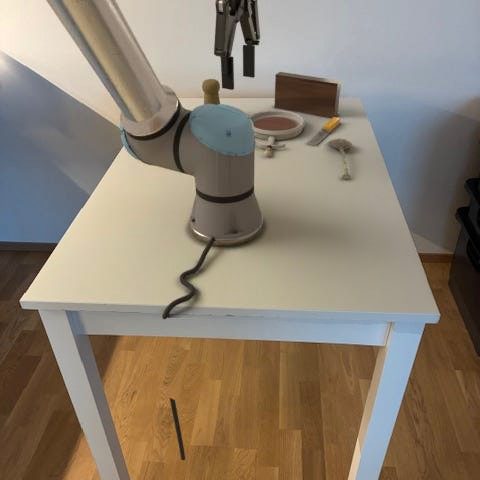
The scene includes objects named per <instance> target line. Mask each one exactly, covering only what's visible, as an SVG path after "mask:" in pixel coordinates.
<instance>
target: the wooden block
mask: <svg viewBox="0 0 480 480" xmlns="http://www.w3.org/2000/svg"><path fill="white" fill-rule="evenodd" d="M274 76H275V79H274V80H275V81H274V82H275V83H274V108H275V109H279V110H284V111H290V112H295V113H296V112H297V113H302V114H308V115H313V116H320V117H325V118H330V119H332V118H333V117H336V118H337V116H338V113H339V104H340V95H341V89H342V88H341V87H342V80H338V79H331V78H325V77H317V76H311V75H304V74H297V73H291V72H286V71H285V72H284V71H278V72H277V73H276V74H275V75H274Z"/></svg>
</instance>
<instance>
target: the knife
mask: <svg viewBox="0 0 480 480" xmlns="http://www.w3.org/2000/svg"><path fill="white" fill-rule="evenodd" d="M340 122H341V118H340V117H337V116H336V117H333V118H330V119H329V120H328V121H327V122H326V123H325V124H324V125H323V127H322V128H321V129H320V130H321V131H320V132H319V133H318V134H316V136H315V137H314V138H313V139H311V140H310V142H309V143H308V145H311V146H315V147H316V146H318V145H319V144H320V143H321V142H322V141H323V140H324V139H325V138H326V137H327V136H328V135H330V133H331V132H332V131H333V130H334V129H335V128H336V127H338V126H339V124H340Z"/></svg>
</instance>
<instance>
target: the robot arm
mask: <svg viewBox="0 0 480 480" xmlns="http://www.w3.org/2000/svg"><path fill="white" fill-rule="evenodd" d="M45 1H46V3H47V4H48V5H49V7H50V9H51V10H52V11H53V13H54V14H55V16H56V17H57V19H58V20H59V22H60V24H61V25H62V26H63V28H64V29H65V30H66V32H67V33H68V35H69V36H70V38H71V40H72V41H73V42H74V44H75V45H76V47H77V48H78V50H79V51H80V52H81V54H82V55H83V57H84V58H85V60H86V61H87V62H88V64H89V66H90V67H91V69H92V70H93V72H94V74H96V76H97V77H98V79H99V80H100V82H101V83H102V85H103V86H104V87H105V89H106V91H107V92H108V93H109V95H110V97H111V98H112V100H113V101H114V103H115V104H116V105H117V107H118V109H120V110H119V111H120V114H119V120H120V121H119V131H121V132H122V134H121V135H120V139H121V142H122V145H123V147H124V148H125V150H126V152H127V153H128V154H129V155H130V156H131V157H132V158H133V159H134V160H137V161H139V162H141V163H143V164H145V165H148V166H153V167H158V168H162V169H165V170H170V171H172V172H173V171H174V172H176V173H177V172H178V173H181V174H185V175H189V176H192V177H193V178H194V185H195V197H194V200H193V205H192V208H191V211H190V212H191V213H190V216H189V229H190V232H191V234H192V236H193V237H194V238H195V239H196V240H197V241H199V242H202V243H204V244H206V245H205V247H204V249H203V251H202V253H201V255H200V257H199V259H198V261H197V263H196V265H195V266H194V267H192V268H190V269H188V270H186V271H183V272H182V273H180V275H179V282H180V283H181V284H182V285H183V286H184V287H185V288H186V289H189V292H188V293H187V294H186V295H183V296H181V297H178V298H176V299H175V300H173V301H171V302H170V303H169V304H168V305H167V306H166V307H165V309H164V311H163V313H162V317H161V318H162V320H166V319H167V318H168V317H169V315H170V313H171V311H173V309H174V308H175V307H176V306H179V305H181V304H183V303H185V302H188V301H190V300H191V299H193V298H194V296H195V294H196V287H195V286H194V285H193V284H192V283H191V282H188V281H187V280H186V277H189V276H191V275H194V274H196V273H197V272H198V271H199V270H200V269H201V268H202V266H203V264H204V262H205V260H206V257H207V255H208V254H209V252H210V250H211V249H212V247H213V246H214V247H215V246H216V247H235V246H239V245H243V244H246V243H249V242H251V241H253V240H254V239H256V238H258V236H259V235H260V234H261V233H262V230H263V228H264V227H263V226H264V218H263V214H262V211H261V209H260V205H259V203H258V202H259V201H258V199H257V196H256V193H255V157H256V155H255V151H256V146H255V143H257V142H256V136H254V125H253V122H252V121H251V118H250V115H249V114H247V113H246V112H245V111H243V110H242V109H240V108H238V107H235V106H232V105H229V104H224V103H220V104H218V105H214V104H205V105H204V104H201V105H198V106H196V107H194V108H193V109H192V110H191V109H186V108H185V107H183V105H182V102H181V101H180V99H179V97H178V95H177V94H176V92H175V91H174V89H173V88H171V87H170V86H168V85H167V84H161V81H160V79H159V78H158V76H157V74H156V72H155V70H154V69H153V67H152V65H151V63H150V61H149V59H148V57H147V55H146V54H145V52H144V51H143V48H142V47H141V45H140V42H139V41H138V39H137V37H136V36H135V34H134V32H133V30H132V28H131V26H130V25H129V23H128V20H127V19H126V17H125V16H124V13H123V12H122V9H121V8H120V6H119V4H118V3H117V1H116V0H45ZM258 5H259V4H258V0H215V13H216V14H215V29H214V43H213V44H214V45H213V48H214V49H213V55H214V56H216V57H219V58H220V73H221V88H222V89H224V90H230V91H233V90H235V67H234V66H235V65H234V63H235V62H234V56H232V52H233V46H234V41H235V36H236V31H237V26H238V23H239V24H240V29H241V33H242V36H243V40H244V44H243V45H242V77H245V78H251V79H253V78H255V76H256V72H255V71H256V70H255V69H256V46H259V45H260V43H261V42H260V40H261V29H260V28H261V27H260V18H259V6H258ZM169 402H170V407H171V412H172V418H173V423H174V427H175V433H176V437H177V438H176V439H177V443H178V450H179V455H180V460H181V461H185V460H186V453H185V447H184V441H183V435H182V429H181V425H180V420H179V419H180V418H179V415H178V414H179V413H178V408H177V403H176V400H175V399H174V398H171V397H169Z"/></svg>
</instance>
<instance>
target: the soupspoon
mask: <svg viewBox="0 0 480 480" xmlns="http://www.w3.org/2000/svg"><path fill="white" fill-rule="evenodd" d="M327 144H328V145H329V146H331V147H333V148H335V149H337V150H339V151H340V154H341V158H342V161H343V167H344V168H343V175H342V179H343V180H349V179H350V178H351V174H350V173H349V168H348V164H347V158H346V153H345V150H347V149H349V148H350V147H352V146H353V142H351V141H350V140H349V139H346V138H342V137H340V138H333V139H330V140H329V141H327Z"/></svg>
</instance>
